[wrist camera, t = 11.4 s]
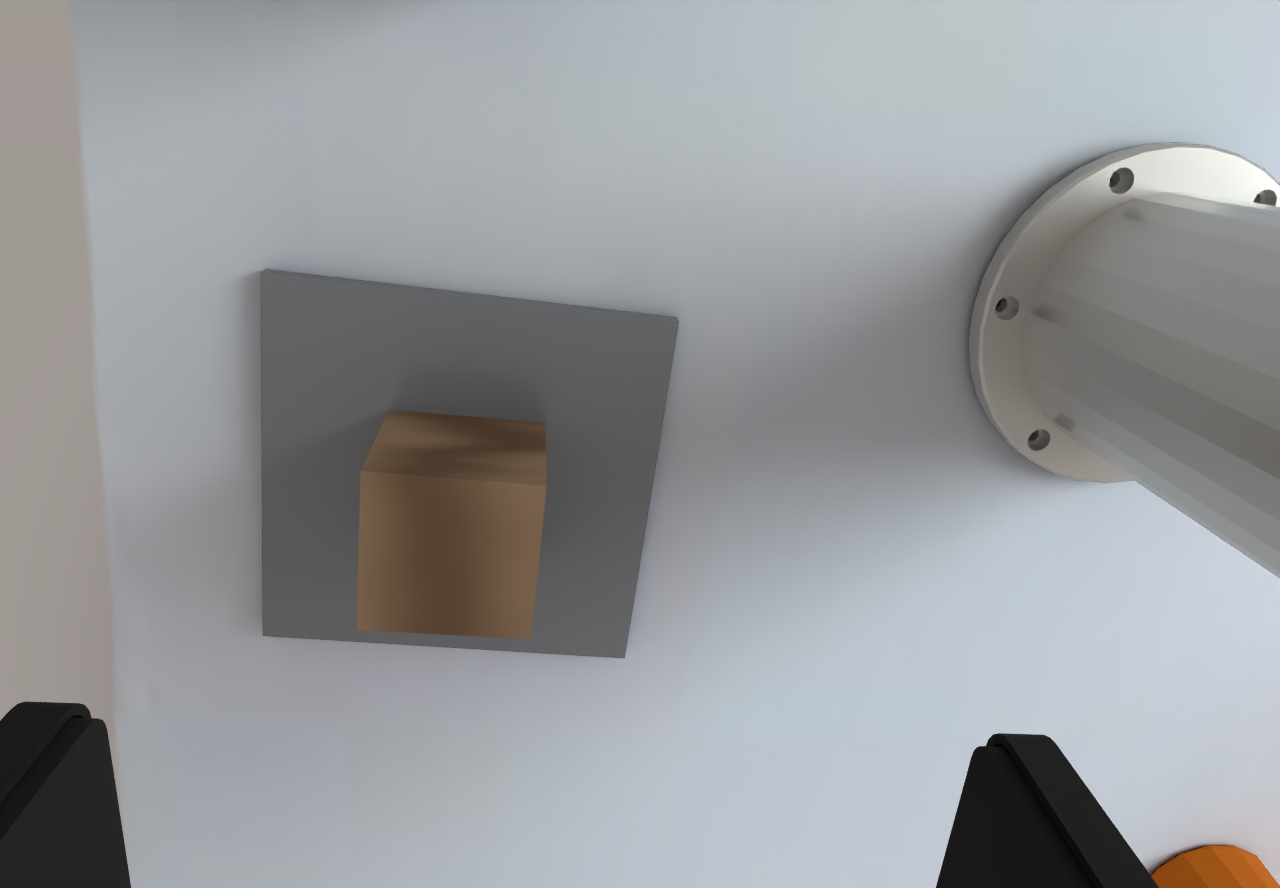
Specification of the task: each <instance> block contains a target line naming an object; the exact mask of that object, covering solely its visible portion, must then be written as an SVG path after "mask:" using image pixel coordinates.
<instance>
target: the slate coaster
mask: <svg viewBox="0 0 1280 888" xmlns="http://www.w3.org/2000/svg"><path fill="white" fill-rule="evenodd" d="M678 323H679V321H678V319H677V318H676V317H668V316H659V315H651V314H642V313H634V312H625V311H617V310H608V309H600V308H591V307H583V306H574V305H566V304H557V303H549V302H540V301H532V300H523V299H515V298H506V297H498V296H489V295H481V294H472V293H464V292H455V291H447V290H439V289H430V288H422V287H413V286H405V285H396V284H388V283H379V282H371V281H362V280H354V279H345V278H337V277H328V276H320V275H311V274H303V273H294V272H286V271H277V270H269V269H266V270H264V271H263V272H261V392H262V596H263V636H273V637H289V638H305V639H321V640H337V641H353V642H369V643H386V644H402V645H418V646H434V647H450V648H466V649H482V650H498V651H514V652H531V653H547V654H563V655H579V656H595V657H611V658H625V652H626V646H627V640H628V634H629V628H630V621H631V615H632V609H633V603H634V596H635V590H636V584H637V578H638V572H639V565H640V559H641V553H642V547H643V541H644V534H645V528H646V522H647V516H648V510H649V503H650V497H651V491H652V485H653V478H654V472H655V466H656V460H657V454H658V447H659V441H660V435H661V429H662V423H663V416H664V410H665V404H666V398H667V392H668V385H669V379H670V373H671V367H672V361H673V354H674V348H675V342H676V336H677V329H678ZM389 409H394V410H405V411H416V412H427V413H438V414H450V415H461V416H472V417H483V418H494V419H506V420H517V421H528V422H539V423H546V471H547V488H546V498H545V507H544V517H543V526H542V536H541V545H540V555H539V564H538V574H537V583H536V593H535V602H534V612H533V621H532V631H531V639H513V638H495V637H477V636H459V635H441V634H423V633H405V632H387V631H369V630H357V594H358V555H359V516H360V477H361V469H362V467H363V465H364V463H365V460H366V458H367V456H368V454H369V452H370V450H371V447H372V445H373V443H374V441H375V439H376V437H377V434H378V432H379V430H380V428H381V426H382V423H383V421H384V419H385V417H386V415H387V413H388V410H389Z"/></svg>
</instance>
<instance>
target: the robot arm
mask: <svg viewBox="0 0 1280 888" xmlns="http://www.w3.org/2000/svg"><path fill="white" fill-rule="evenodd" d="M1111 176H1112V180H1111V182H1110V178H1111ZM1109 182H1110V183H1109ZM999 300H1001V304H1000V306H999V307H998V308H996V305H997V303H998V301H999ZM995 308H996V309H995ZM969 354H970V371H971V375H972V378H973V382H974V386H975V390H976V394H977V397H978V400H979V402H980V404H981V405H982V407H983V409H984V411H985V413H986V415H987V417H988V419H989V421H990V423H991V424H992V425H993V426H994V427H995V429H996V430H997V431H998V432H999V433H1000V434H1001V436H1002V437H1003V438H1004V439H1005V440H1006V441H1007V443H1009V444H1010V445H1011V446H1012V447H1013V448H1015V449H1016V450H1017V451H1018V452H1020V453H1021V454H1022V455H1023V456H1025V457H1026V458H1027V459H1029V460H1030V461H1032V462H1034V463H1036V464H1037V465H1039V466H1041V467H1043V468H1044V469H1046V470H1048V471H1050V472H1052V473H1055V474H1058V475H1061V476H1065V477H1068V478H1071V479H1074V480H1078V481H1088V482H1098V483H1114V482H1125V481H1136V482H1138V483H1139V484H1141V485H1142V486H1144V487H1145V488H1147V489H1148V490H1150V491H1151V492H1152V493H1154V494H1155V495H1157V496H1158V497H1160V498H1161V499H1163V500H1164V501H1166V502H1167V503H1169V504H1170V505H1172V506H1173V507H1175V508H1176V509H1178V510H1179V511H1181V512H1182V513H1184V514H1185V515H1187V516H1188V517H1190V518H1191V519H1193V520H1194V521H1195V522H1197V523H1198V524H1200V525H1201V526H1203V527H1204V528H1206V529H1207V530H1209V531H1210V532H1212V533H1213V534H1215V535H1216V536H1218V537H1219V538H1221V539H1222V540H1224V541H1225V542H1227V543H1228V544H1230V545H1231V546H1233V547H1234V548H1236V549H1237V550H1238V551H1240V552H1241V553H1243V554H1244V555H1246V556H1247V557H1249V558H1250V559H1252V560H1253V561H1255V562H1256V563H1258V564H1259V565H1261V566H1262V567H1264V568H1265V569H1267V570H1268V571H1270V572H1271V573H1273V574H1274V575H1276V576H1277V577H1279V578H1280V183H1278V182H1277V181H1276V180H1275V179H1274V178H1273V177H1272V176H1271V175H1270V174H1269V173H1268V172H1267V171H1266V170H1265V169H1264V168H1262V167H1261V166H1259V165H1257V164H1255V163H1254V162H1252V161H1250V160H1248V159H1247V158H1245V157H1243V156H1241V155H1240V154H1237V153H1234V152H1230V151H1227V150H1223V149H1220V148H1216V147H1212V146H1209V145H1200V144H1190V143H1180V142H1172V143H1155V144H1143V145H1139V146H1135V147H1132V148H1128V149H1124V150H1120V151H1116V152H1113V153H1110V154H1108V155H1105V156H1103V157H1101V158H1099V159H1097V160H1095V161H1093V162H1090V163H1088V164H1086V165H1084V166H1082V167H1080V168H1078V169H1076V170H1075V171H1074V172H1072V173H1071V174H1069V175H1068V176H1066V177H1065V178H1064V179H1062V180H1061V181H1059V182H1058V183H1056V184H1055V185H1054V186H1052V187H1051V188H1049V189H1048V190H1047V191H1046V192H1045V193H1044V194H1043V195H1042V196H1041V197H1040V198H1039V199H1038V200H1037V201H1036V202H1035V203H1034V204H1032V205H1031V206H1030V207H1029V208H1028V209H1027V210H1026V211H1025V212H1024V213H1023V214H1022V215H1021V217H1020V218H1019V219H1018V221H1017V222H1016V223H1015V225H1014V226H1013V227H1012V229H1011V230H1010V231H1009V233H1008V234H1007V235H1006V237H1005V238H1004V239H1003V241H1002V242H1001V243H1000V245H999V247H998V249H997V251H996V253H995V255H994V257H993V258H992V260H991V262H990V264H989V266H988V268H987V270H986V272H985V274H984V276H983V279H982V282H981V285H980V288H979V291H978V294H977V297H976V301H975V304H974V307H973V312H972V320H971V327H970V334H969ZM0 888H131V884H130V877H129V871H128V864H127V858H126V851H125V844H124V838H123V831H122V825H121V818H120V812H119V805H118V798H117V792H116V785H115V779H114V772H113V766H112V760H111V753H110V746H109V740H108V733H107V728H106V725H105V723H104V722H103V720H100V719H93V718H91V715H90V711H89V710H88V708H87V707H86V706H85V705H83V704H79V703H49V702H48V703H47V702H22V703H19V704H17V705H16V706H15V707H14V708H12V709H11V710H10V711H9V712H8V713H7V714H6V715H5V716H4V717H3V719H2V720H1V721H0ZM936 888H1159V887H1158V885H1157V884H1156V883H1155V881H1154V880H1153V878H1152V877H1151V876H1150V874H1149V873H1148V871H1147V870H1146V869H1145V867H1144V866H1143V864H1142V863H1141V862H1140V860H1139V859H1138V857H1137V856H1136V855H1135V853H1134V852H1133V850H1132V849H1131V848H1130V846H1129V845H1128V844H1127V842H1126V841H1125V839H1124V838H1123V837H1122V835H1121V834H1120V832H1119V831H1118V830H1117V828H1116V827H1115V825H1114V824H1113V823H1112V821H1111V820H1110V818H1109V817H1108V816H1107V814H1106V813H1105V811H1104V810H1103V809H1102V807H1101V806H1100V805H1099V803H1098V802H1097V800H1096V799H1095V798H1094V796H1093V795H1092V793H1091V792H1090V791H1089V789H1088V788H1087V786H1086V785H1085V784H1084V782H1083V781H1082V779H1081V778H1080V777H1079V775H1078V774H1077V772H1076V771H1075V770H1074V768H1073V767H1072V765H1071V764H1070V763H1069V761H1068V760H1067V759H1066V757H1065V756H1064V754H1063V753H1062V752H1061V750H1060V749H1059V747H1058V746H1057V745H1056V743H1055V742H1054V741H1053V740H1052V739H1051V738H1050V737H1047V736H1045V735H1030V734H1000V733H998V734H994V735H992V736H991V738H990V739H989V740H988V742H987V745H986V746H980V747H977V748H976V749H975V750H974V752H973V755H972V757H971V761H970V765H969V768H968V772H967V776H966V779H965V783H964V787H963V790H962V794H961V798H960V801H959V805H958V809H957V812H956V816H955V820H954V823H953V827H952V831H951V834H950V838H949V842H948V845H947V849H946V853H945V856H944V860H943V864H942V867H941V871H940V875H939V878H938V882H937V886H936Z"/></svg>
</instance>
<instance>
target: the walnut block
mask: <svg viewBox="0 0 1280 888" xmlns="http://www.w3.org/2000/svg"><path fill="white" fill-rule="evenodd" d="M546 488H547V471H546V423H539V422H528V421H517V420H506V419H494V418H483V417H472V416H461V415H450V414H438V413H427V412H416V411H405V410H394V409H389V410H388V413H387V415H386V417H385V419H384V421H383V423H382V426H381V428H380V430H379V432H378V434H377V437H376V439H375V441H374V443H373V445H372V447H371V450H370V452H369V454H368V456H367V458H366V460H365V463H364V465H363V467H362V469H361V477H360V516H359V555H358V594H357V630H369V631H387V632H405V633H423V634H441V635H459V636H477V637H495V638H513V639H531V631H532V621H533V612H534V602H535V593H536V583H537V574H538V564H539V555H540V545H541V536H542V526H543V517H544V507H545V498H546Z"/></svg>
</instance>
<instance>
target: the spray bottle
mask: <svg viewBox="0 0 1280 888" xmlns="http://www.w3.org/2000/svg"><path fill="white" fill-rule="evenodd" d="M1151 877H1152V878H1153V880H1154V881H1155V883H1156V884H1157V885H1158V887H1159V888H1280V886H1279V884H1278V883H1277V882H1276V881H1275V879H1274V878H1273V877H1272V875H1271V874H1270V873H1269V872H1268V870H1267V869H1266V868H1265V866H1264V865H1263V864H1262V862H1261V861H1260V860H1259V859H1258V857H1257V856H1256V855H1254V854H1252V853H1250V852H1247V851H1245V850H1242V849H1240V848H1238V847H1235V846H1205V847H1202V848H1198V849H1195V850H1192V851H1189V852H1185V853H1182V854H1180V855H1178V856H1177V857H1175V858H1173V859H1172V860H1170V861H1169V862H1167V863H1166V864H1164V865H1162V866H1161V867H1159V868H1158V869H1157V870H1156V871H1155V872H1154V873H1153V875H1152V876H1151Z"/></svg>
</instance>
